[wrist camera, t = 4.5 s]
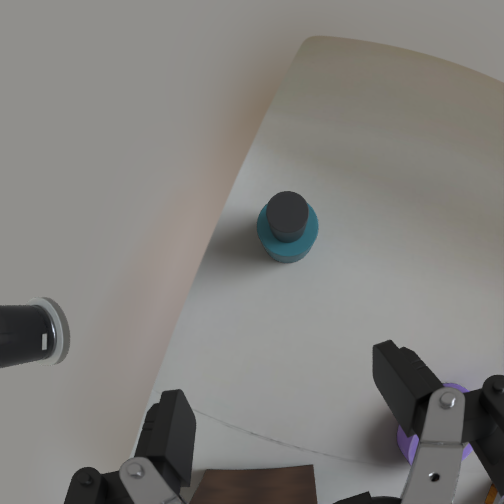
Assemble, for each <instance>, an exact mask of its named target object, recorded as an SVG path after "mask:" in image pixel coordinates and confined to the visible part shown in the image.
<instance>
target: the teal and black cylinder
mask: <svg viewBox="0 0 504 504" xmlns="http://www.w3.org/2000/svg"><path fill="white" fill-rule="evenodd" d="M257 232H258V236H259V238H260V240H261V242H262V244H263V246H264V247H265V249H266V251H267V252H268V254H269V255H270V256H271V257H272V258H274V259H275V260H277V261H280V262H283V263H292V262H296V261H298V260H300V259H302V258H303V257H304V256H306V254H307V253H308V252H309V250H310V248H311V247H312V245H313V243H314V241H315V239H316V237H317V234H318V219H317V216H316V214H315V212H314V210H313V209H312V207H311V206H310V205H309V204H308V203H307V202H306V201H305V199H304V198H303V197H302V196H301V195H299V194H297V193H295V192H291V191H284V192H280V193H278V194H276V195H275V196H273V197H272V198H271V199H270V201H269V202H268V204H266V205H265V206H264V208H263V209H262V210H261V212H260V214H259V217H258V221H257Z"/></svg>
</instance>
